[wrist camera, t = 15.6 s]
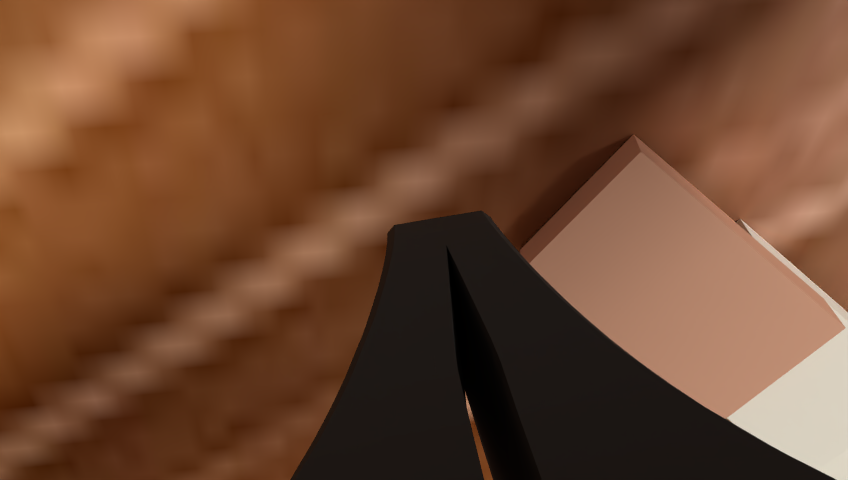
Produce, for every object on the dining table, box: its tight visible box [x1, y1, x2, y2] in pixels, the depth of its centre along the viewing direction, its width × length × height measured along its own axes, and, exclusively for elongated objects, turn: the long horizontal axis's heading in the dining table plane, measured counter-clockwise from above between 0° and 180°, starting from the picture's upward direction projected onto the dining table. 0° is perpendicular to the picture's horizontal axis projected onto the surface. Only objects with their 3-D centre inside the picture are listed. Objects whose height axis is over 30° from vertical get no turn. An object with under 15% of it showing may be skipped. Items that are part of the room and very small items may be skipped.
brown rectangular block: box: [520, 134, 845, 419], centre depth 22 cm, size 2×5×8 cm
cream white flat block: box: [727, 219, 848, 470], centre depth 25 cm, size 2×5×8 cm
